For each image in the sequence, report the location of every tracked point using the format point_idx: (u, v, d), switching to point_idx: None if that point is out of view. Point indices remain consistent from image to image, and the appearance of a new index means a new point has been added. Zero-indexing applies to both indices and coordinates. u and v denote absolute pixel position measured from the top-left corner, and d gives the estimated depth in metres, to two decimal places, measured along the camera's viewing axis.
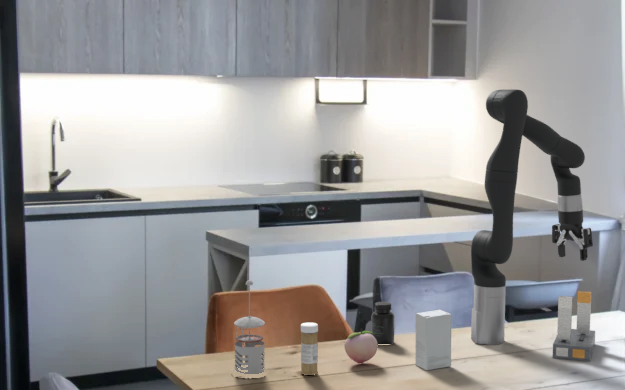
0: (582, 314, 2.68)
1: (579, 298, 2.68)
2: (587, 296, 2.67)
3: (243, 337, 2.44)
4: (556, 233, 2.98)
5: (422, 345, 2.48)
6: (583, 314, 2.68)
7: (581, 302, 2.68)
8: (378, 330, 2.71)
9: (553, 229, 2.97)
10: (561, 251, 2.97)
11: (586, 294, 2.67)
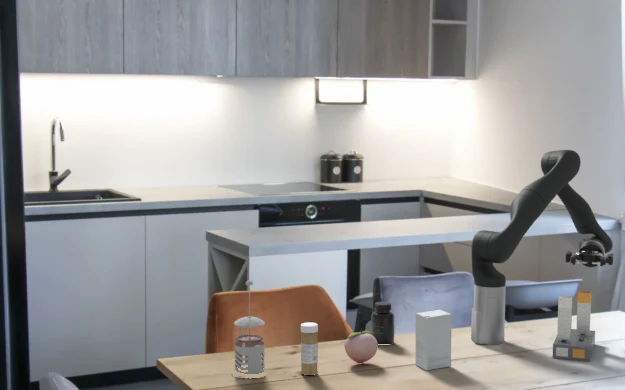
0: (582, 314, 2.68)
1: (579, 298, 2.68)
2: (587, 296, 2.67)
3: (243, 337, 2.44)
4: (570, 255, 2.84)
5: (422, 345, 2.48)
6: (583, 314, 2.68)
7: (581, 302, 2.68)
8: (378, 330, 2.71)
9: (568, 252, 2.85)
10: (575, 258, 2.78)
11: (586, 294, 2.67)
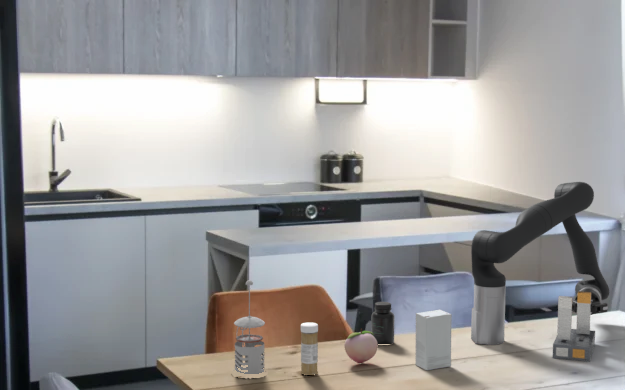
0: (581, 314, 2.68)
1: (579, 298, 2.68)
2: (587, 296, 2.67)
3: (243, 337, 2.44)
4: None
5: (422, 345, 2.48)
6: (583, 315, 2.68)
7: (581, 302, 2.68)
8: (378, 330, 2.71)
9: None
10: None
11: (586, 294, 2.67)
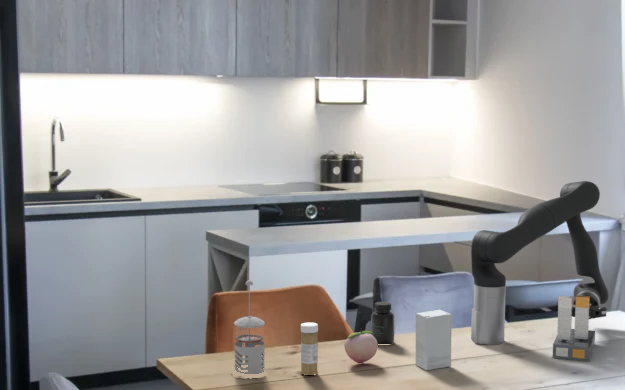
0: (580, 319, 2.62)
1: (577, 303, 2.62)
2: (585, 300, 2.61)
3: (243, 337, 2.44)
4: None
5: (422, 345, 2.48)
6: (581, 319, 2.62)
7: (579, 307, 2.62)
8: (378, 330, 2.71)
9: None
10: None
11: (584, 298, 2.61)
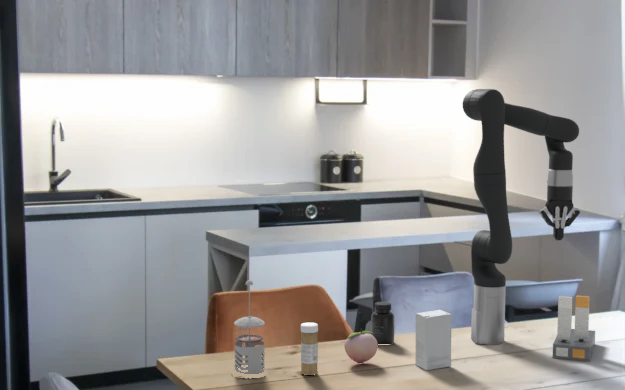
0: (580, 319, 2.62)
1: (577, 303, 2.62)
2: (585, 300, 2.61)
3: (243, 337, 2.44)
4: (547, 216, 2.85)
5: (422, 345, 2.48)
6: (581, 319, 2.62)
7: (579, 307, 2.62)
8: (378, 330, 2.71)
9: (544, 214, 2.84)
10: None
11: (584, 298, 2.61)
